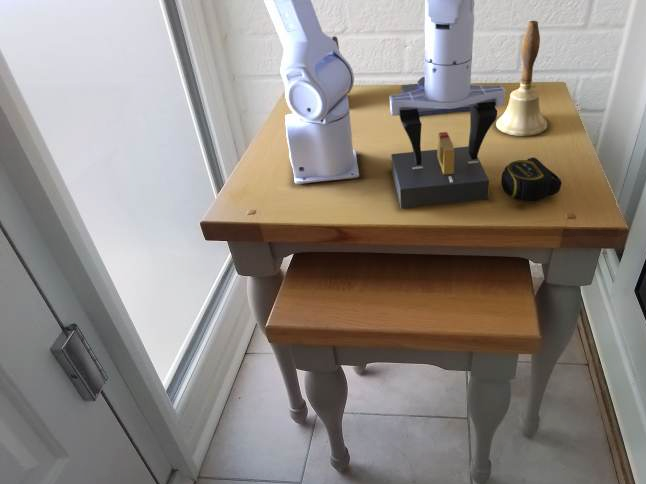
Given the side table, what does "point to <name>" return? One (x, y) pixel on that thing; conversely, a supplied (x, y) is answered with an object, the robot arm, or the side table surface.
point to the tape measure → (529, 180)
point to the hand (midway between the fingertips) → (445, 158)
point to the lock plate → (438, 179)
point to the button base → (428, 112)
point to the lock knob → (445, 153)
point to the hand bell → (525, 93)
